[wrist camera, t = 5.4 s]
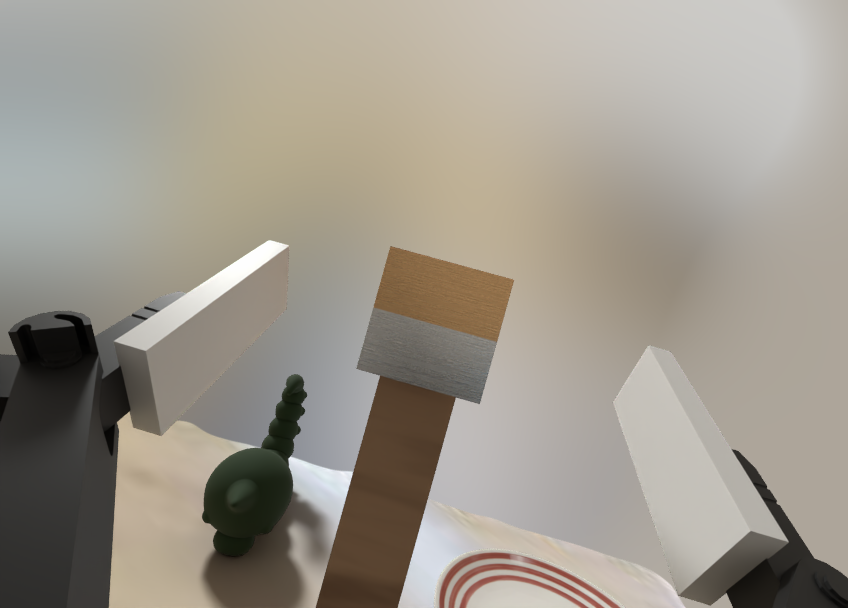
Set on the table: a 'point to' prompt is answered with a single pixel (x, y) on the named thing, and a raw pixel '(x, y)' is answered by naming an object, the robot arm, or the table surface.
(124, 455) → the table surface
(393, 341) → the brown and gray block
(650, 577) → the table surface
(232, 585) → the table surface
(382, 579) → the tall stand
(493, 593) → the dinner plate
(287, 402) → the dark green knobbed ball
